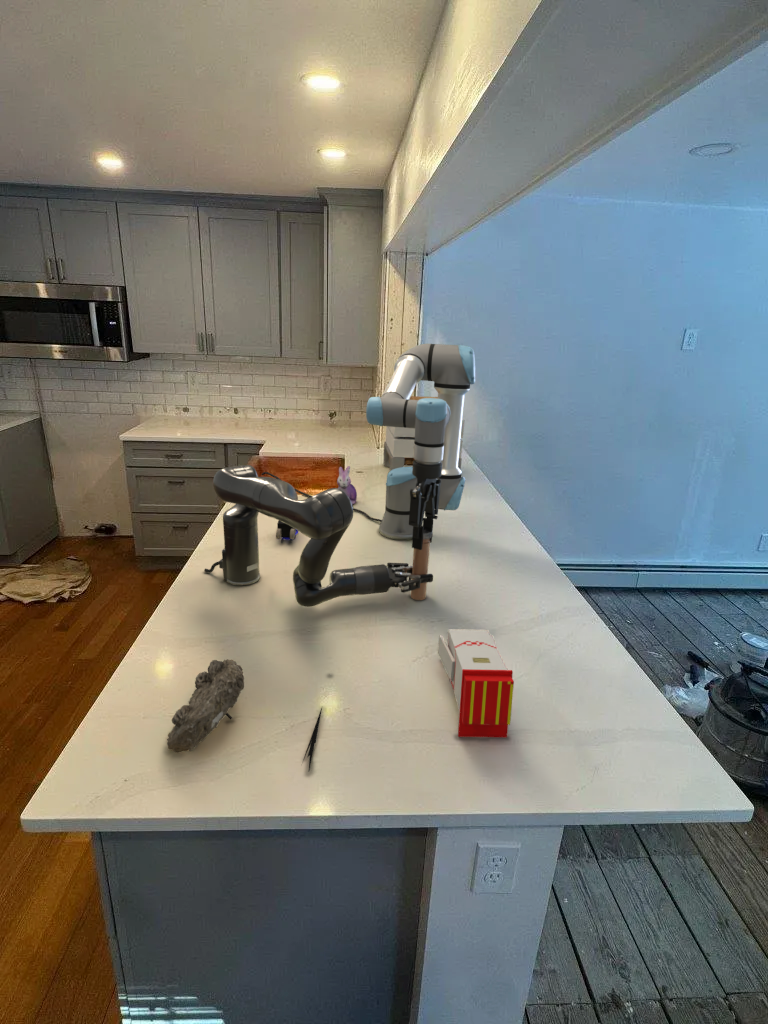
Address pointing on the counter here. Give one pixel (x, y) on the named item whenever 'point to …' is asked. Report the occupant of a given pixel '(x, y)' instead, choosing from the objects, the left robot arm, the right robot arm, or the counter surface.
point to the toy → (478, 682)
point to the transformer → (405, 445)
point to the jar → (420, 568)
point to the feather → (313, 740)
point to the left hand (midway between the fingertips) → (428, 573)
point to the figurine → (346, 484)
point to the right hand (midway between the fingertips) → (421, 544)
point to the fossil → (206, 705)
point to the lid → (427, 533)
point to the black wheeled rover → (285, 532)
